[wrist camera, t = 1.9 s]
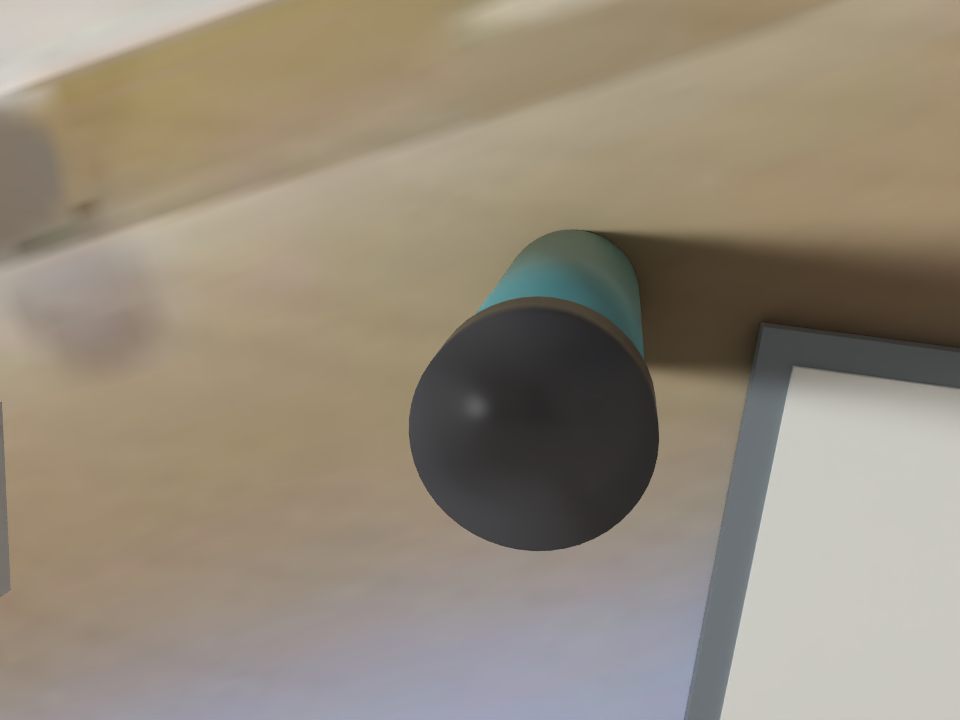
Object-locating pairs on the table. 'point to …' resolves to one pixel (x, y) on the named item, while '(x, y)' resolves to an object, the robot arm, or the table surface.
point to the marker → (542, 401)
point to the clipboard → (838, 537)
